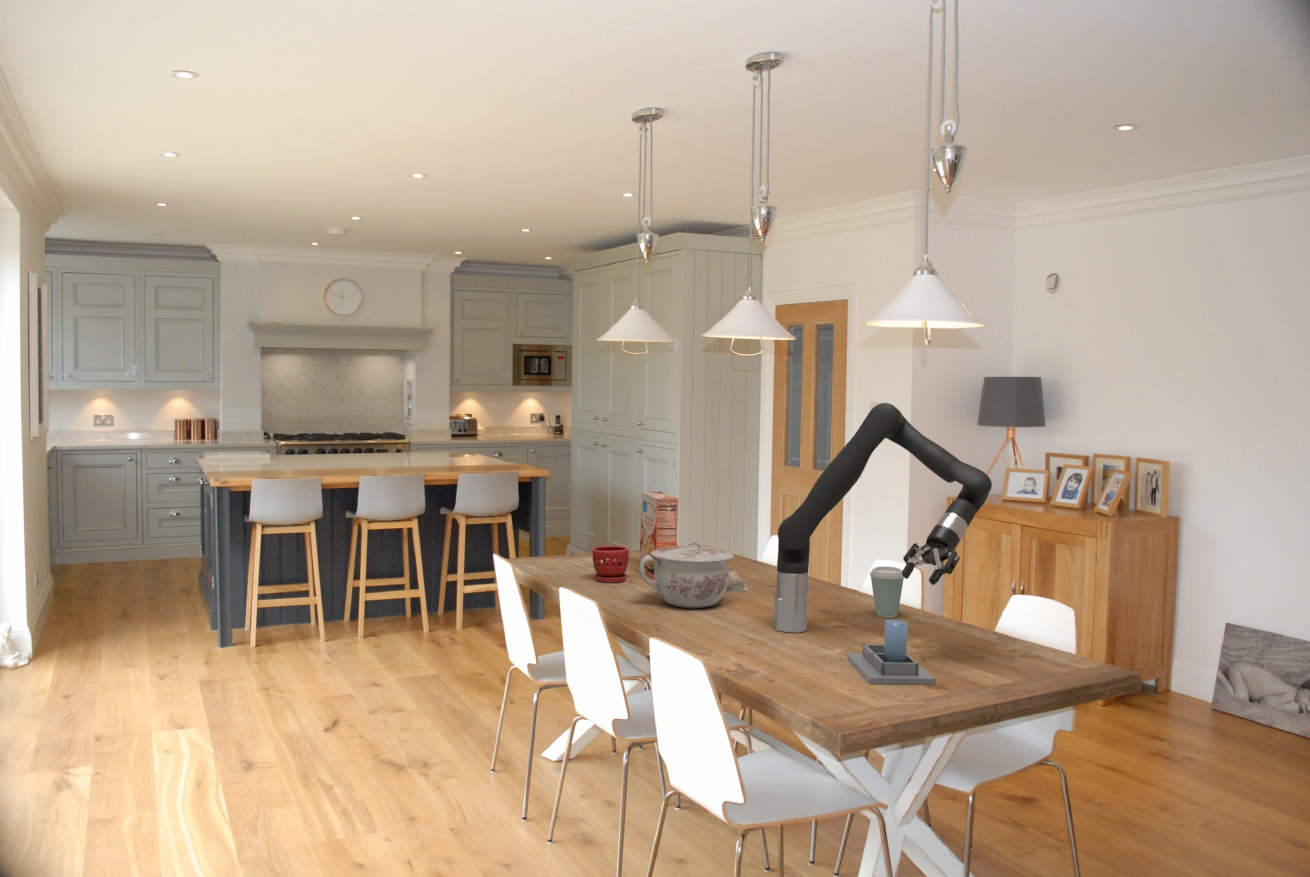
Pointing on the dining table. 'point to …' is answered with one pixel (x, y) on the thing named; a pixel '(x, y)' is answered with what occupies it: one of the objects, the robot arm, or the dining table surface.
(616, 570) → the plant pot
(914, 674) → the tray
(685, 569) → the chamber pot
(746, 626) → the dining table surface
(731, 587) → the packaged product
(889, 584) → the disposable coffee cup
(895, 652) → the pale blue cylinder
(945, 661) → the dining table surface
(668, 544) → the orange cereal box
